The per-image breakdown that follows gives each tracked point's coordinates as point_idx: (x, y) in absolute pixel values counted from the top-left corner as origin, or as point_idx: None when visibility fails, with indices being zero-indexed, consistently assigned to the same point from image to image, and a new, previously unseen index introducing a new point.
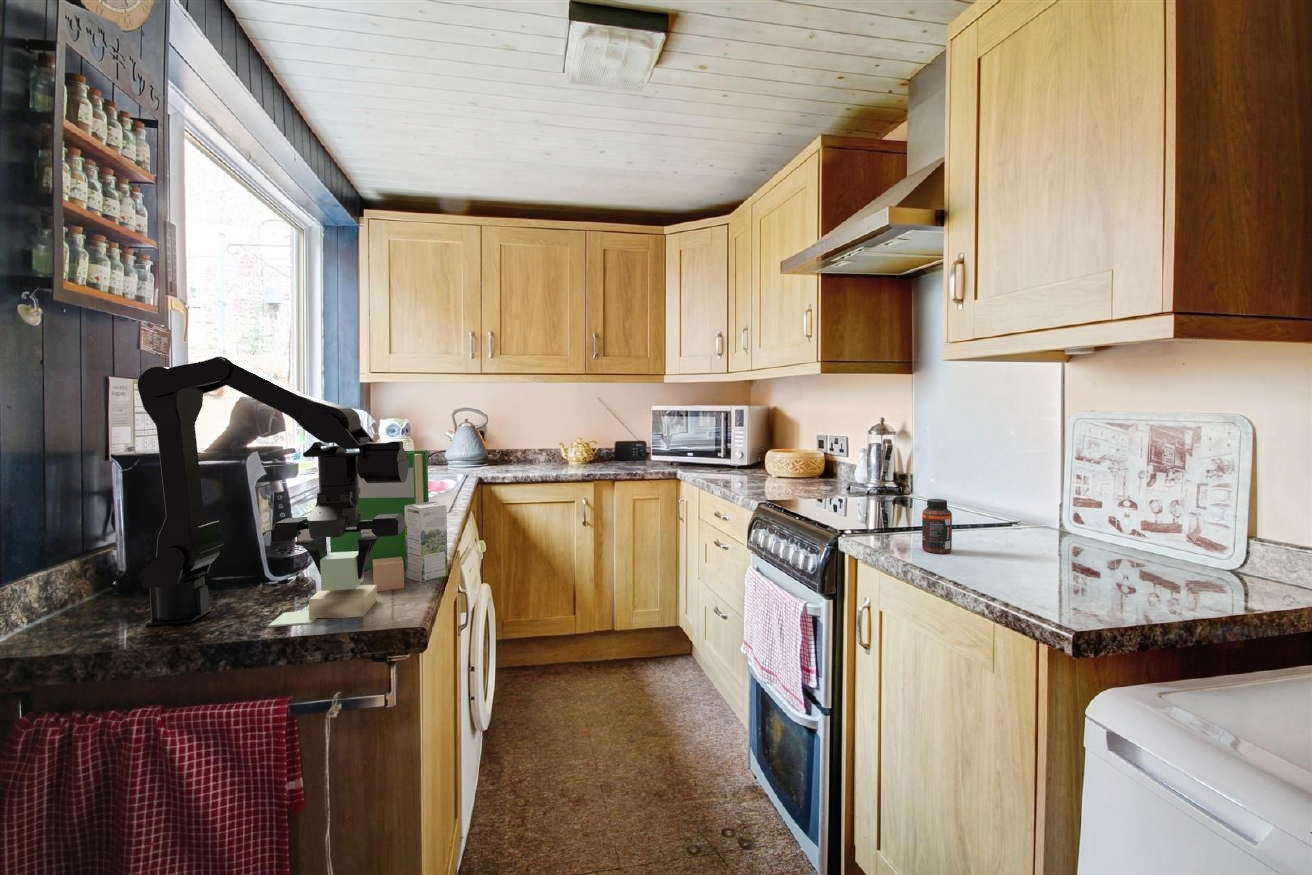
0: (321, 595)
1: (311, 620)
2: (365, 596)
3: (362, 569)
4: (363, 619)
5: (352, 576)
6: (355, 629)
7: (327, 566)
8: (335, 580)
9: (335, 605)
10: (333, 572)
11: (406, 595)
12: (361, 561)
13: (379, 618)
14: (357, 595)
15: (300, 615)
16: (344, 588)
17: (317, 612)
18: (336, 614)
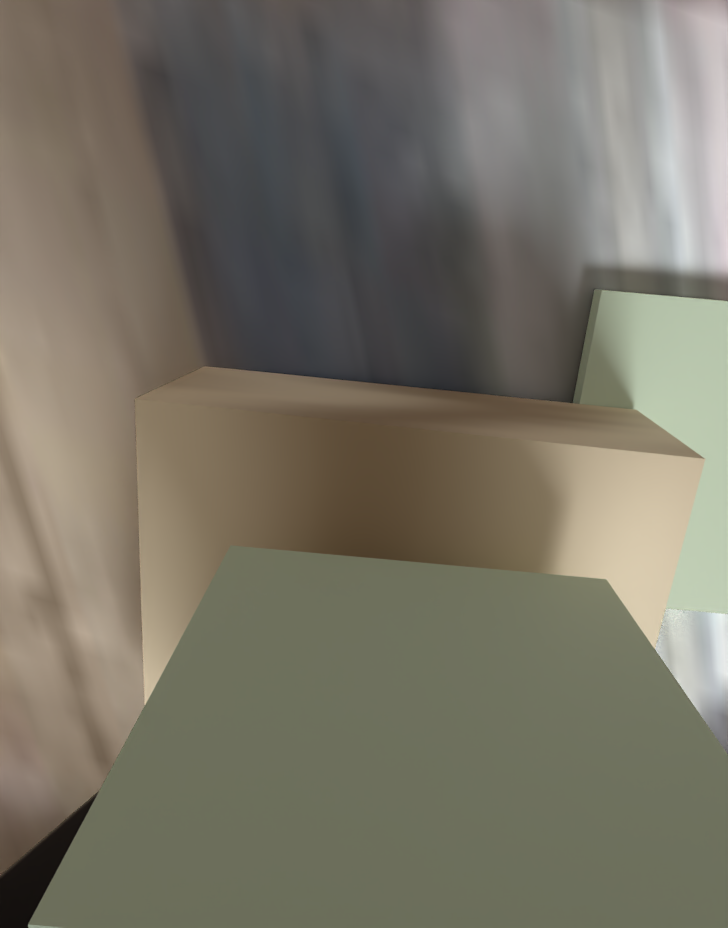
0: (590, 571)
1: (605, 342)
2: (146, 484)
3: (89, 800)
4: (189, 305)
5: (214, 631)
6: (185, 15)
7: (640, 820)
8: (458, 630)
9: (424, 412)
10: (502, 715)
11: (24, 792)
12: (15, 921)
13: (60, 289)
14: (233, 528)
15: (708, 509)
16: (348, 562)
17: (577, 415)
18: (414, 393)
